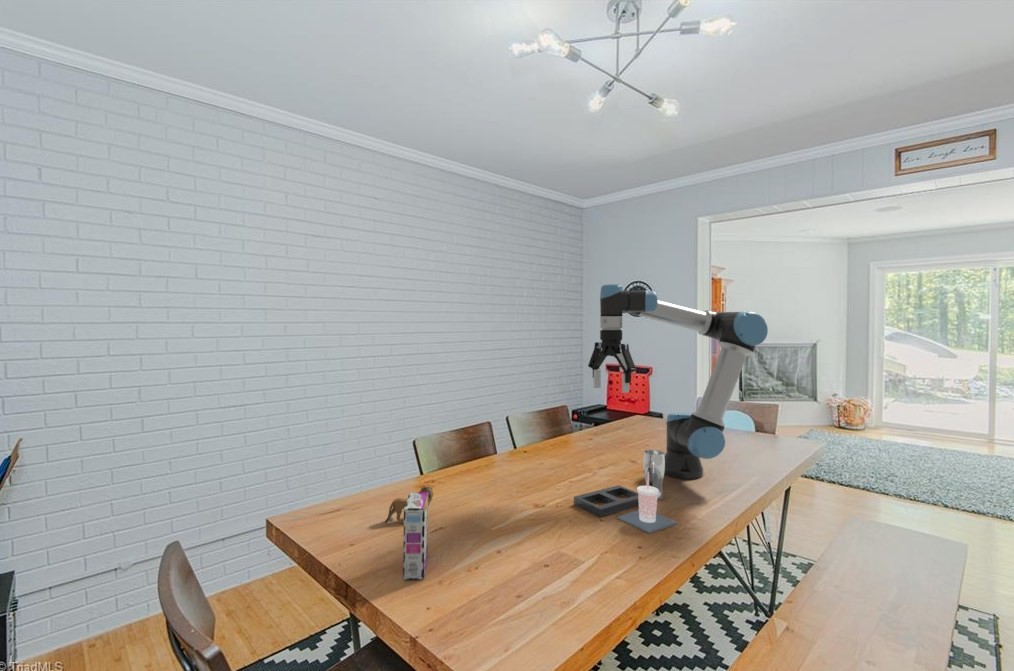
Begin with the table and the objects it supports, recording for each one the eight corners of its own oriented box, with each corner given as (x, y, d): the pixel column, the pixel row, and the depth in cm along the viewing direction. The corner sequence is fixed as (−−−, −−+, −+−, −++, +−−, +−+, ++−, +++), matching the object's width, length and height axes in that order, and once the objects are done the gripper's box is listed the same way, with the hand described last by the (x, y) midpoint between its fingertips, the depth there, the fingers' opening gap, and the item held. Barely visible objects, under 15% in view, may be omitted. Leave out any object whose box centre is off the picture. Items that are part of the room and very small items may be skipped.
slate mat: (645, 509, 148) (645, 508, 148) (677, 523, 137) (677, 522, 137) (617, 518, 141) (617, 516, 141) (648, 533, 131) (649, 531, 131)
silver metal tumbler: (665, 501, 154) (666, 455, 154) (643, 499, 156) (644, 454, 155) (663, 493, 161) (663, 449, 161) (642, 492, 163) (642, 448, 162)
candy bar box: (425, 580, 107) (425, 508, 107) (402, 581, 107) (402, 509, 106) (429, 555, 119) (428, 491, 118) (408, 556, 118) (408, 491, 118)
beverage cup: (655, 525, 135) (656, 476, 134) (633, 520, 138) (634, 473, 138) (660, 518, 140) (661, 471, 140) (640, 513, 143) (640, 467, 143)
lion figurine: (429, 511, 146) (429, 482, 146) (436, 517, 141) (436, 487, 141) (382, 521, 139) (381, 491, 138) (387, 528, 134) (387, 496, 134)
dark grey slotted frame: (618, 492, 162) (618, 485, 162) (646, 503, 152) (646, 496, 152) (573, 504, 152) (573, 496, 152) (600, 517, 142) (600, 509, 141)
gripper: (578, 328, 173) (578, 386, 174) (631, 330, 153) (631, 395, 153) (593, 328, 178) (593, 385, 178) (647, 329, 157) (646, 393, 158)
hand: (610, 390), depth 166 cm, fingers open, 13 cm apart
